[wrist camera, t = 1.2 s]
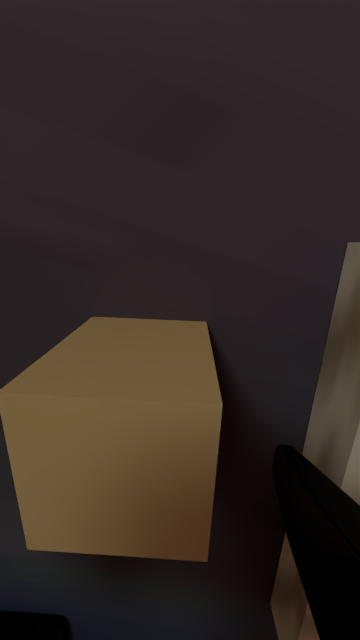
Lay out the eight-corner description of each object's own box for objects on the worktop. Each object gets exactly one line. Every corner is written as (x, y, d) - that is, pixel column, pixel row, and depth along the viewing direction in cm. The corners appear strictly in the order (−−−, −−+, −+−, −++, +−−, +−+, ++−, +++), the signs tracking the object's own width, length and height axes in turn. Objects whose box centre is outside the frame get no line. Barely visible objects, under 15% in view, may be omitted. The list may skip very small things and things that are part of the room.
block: (199, 418, 13) (207, 562, 7) (99, 413, 13) (27, 549, 7) (206, 321, 11) (222, 404, 6) (92, 316, 12) (-4, 392, 6)
